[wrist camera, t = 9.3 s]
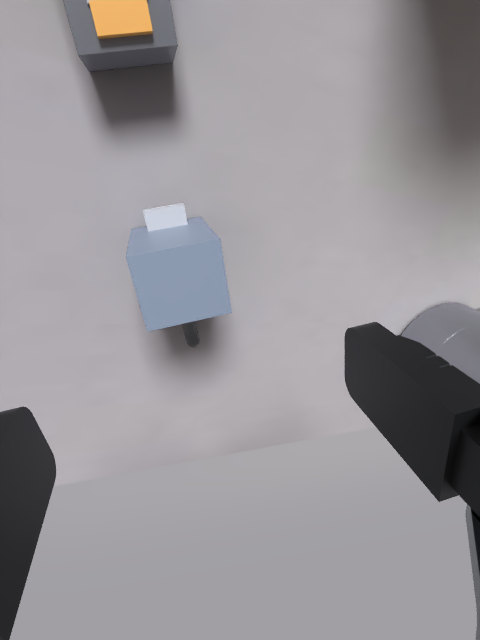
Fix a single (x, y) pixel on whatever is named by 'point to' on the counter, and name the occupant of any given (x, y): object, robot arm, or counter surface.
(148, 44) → the strip
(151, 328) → the block
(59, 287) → the counter surface
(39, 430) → the robot arm
